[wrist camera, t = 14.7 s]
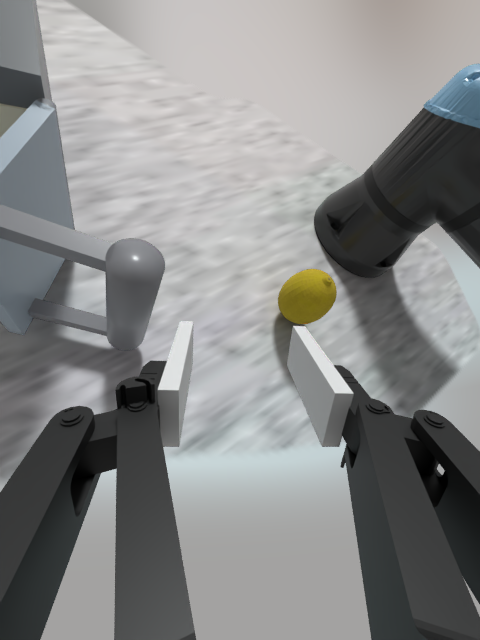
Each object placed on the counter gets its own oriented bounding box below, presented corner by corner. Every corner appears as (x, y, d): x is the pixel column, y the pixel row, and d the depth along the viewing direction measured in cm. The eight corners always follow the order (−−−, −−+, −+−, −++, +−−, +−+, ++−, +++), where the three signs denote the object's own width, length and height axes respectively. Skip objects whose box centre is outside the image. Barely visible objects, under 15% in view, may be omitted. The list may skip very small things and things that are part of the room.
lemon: (311, 312, 36) (357, 281, 29) (293, 342, 33) (341, 314, 26) (279, 284, 36) (318, 246, 29) (258, 312, 33) (296, 276, 26)
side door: (66, 231, 26) (39, 95, 16) (166, 266, 29) (196, 168, 19) (8, 331, 21) (-81, 223, 11) (136, 361, 24) (155, 296, 14)
